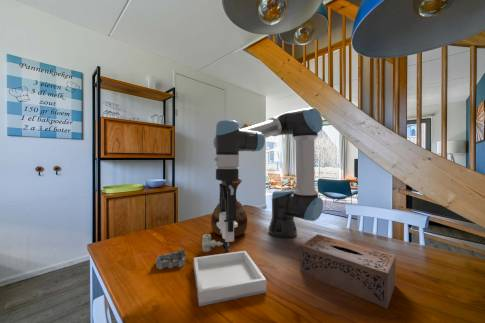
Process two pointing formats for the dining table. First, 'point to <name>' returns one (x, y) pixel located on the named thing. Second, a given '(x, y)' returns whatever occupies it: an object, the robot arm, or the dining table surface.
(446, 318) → the dining table surface
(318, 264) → the tissue box cover
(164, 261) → the grey open frame part
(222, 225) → the pipe fitting
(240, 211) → the brown vase
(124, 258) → the dining table surface
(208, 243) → the valve
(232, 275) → the tray
